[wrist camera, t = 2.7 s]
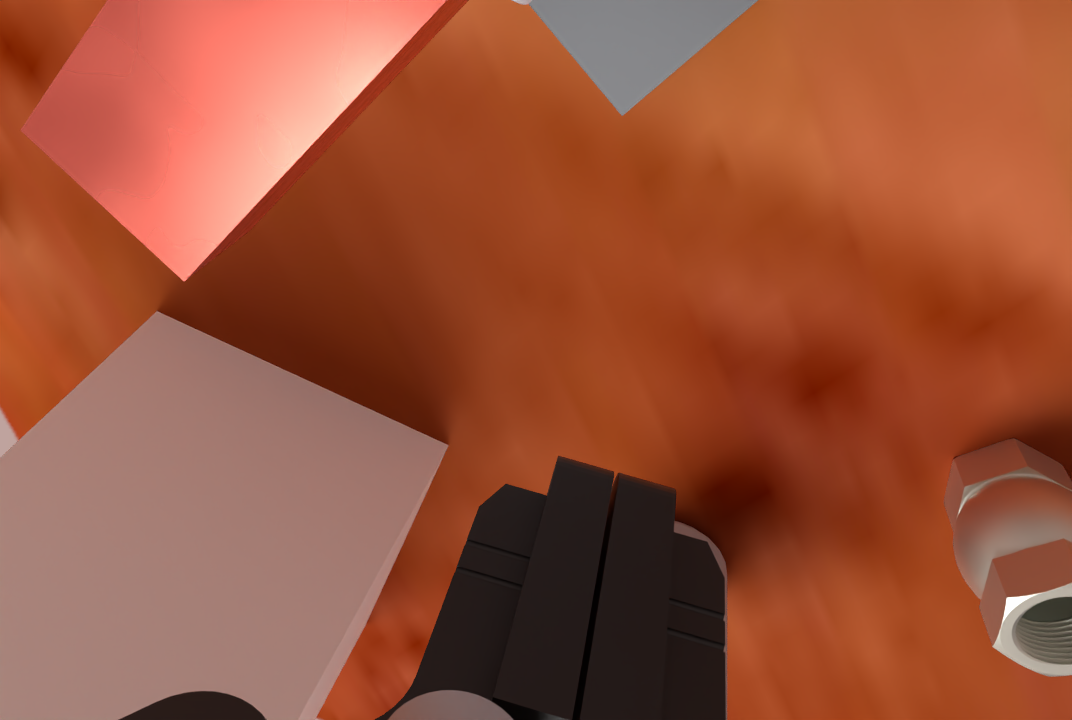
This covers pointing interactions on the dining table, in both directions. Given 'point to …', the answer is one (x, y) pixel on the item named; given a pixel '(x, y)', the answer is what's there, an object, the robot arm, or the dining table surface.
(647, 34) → the pipe manifold
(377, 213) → the dining table surface
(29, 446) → the milk
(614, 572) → the robot arm
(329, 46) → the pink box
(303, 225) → the dining table surface
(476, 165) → the dining table surface
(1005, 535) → the valve
